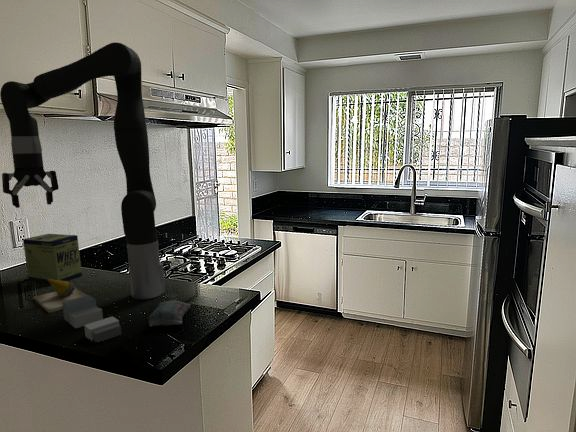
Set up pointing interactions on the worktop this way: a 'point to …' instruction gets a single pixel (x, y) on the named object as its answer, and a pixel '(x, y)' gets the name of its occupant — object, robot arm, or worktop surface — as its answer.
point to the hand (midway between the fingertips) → (33, 205)
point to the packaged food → (168, 313)
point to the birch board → (56, 300)
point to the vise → (90, 319)
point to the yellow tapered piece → (62, 287)
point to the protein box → (52, 257)
